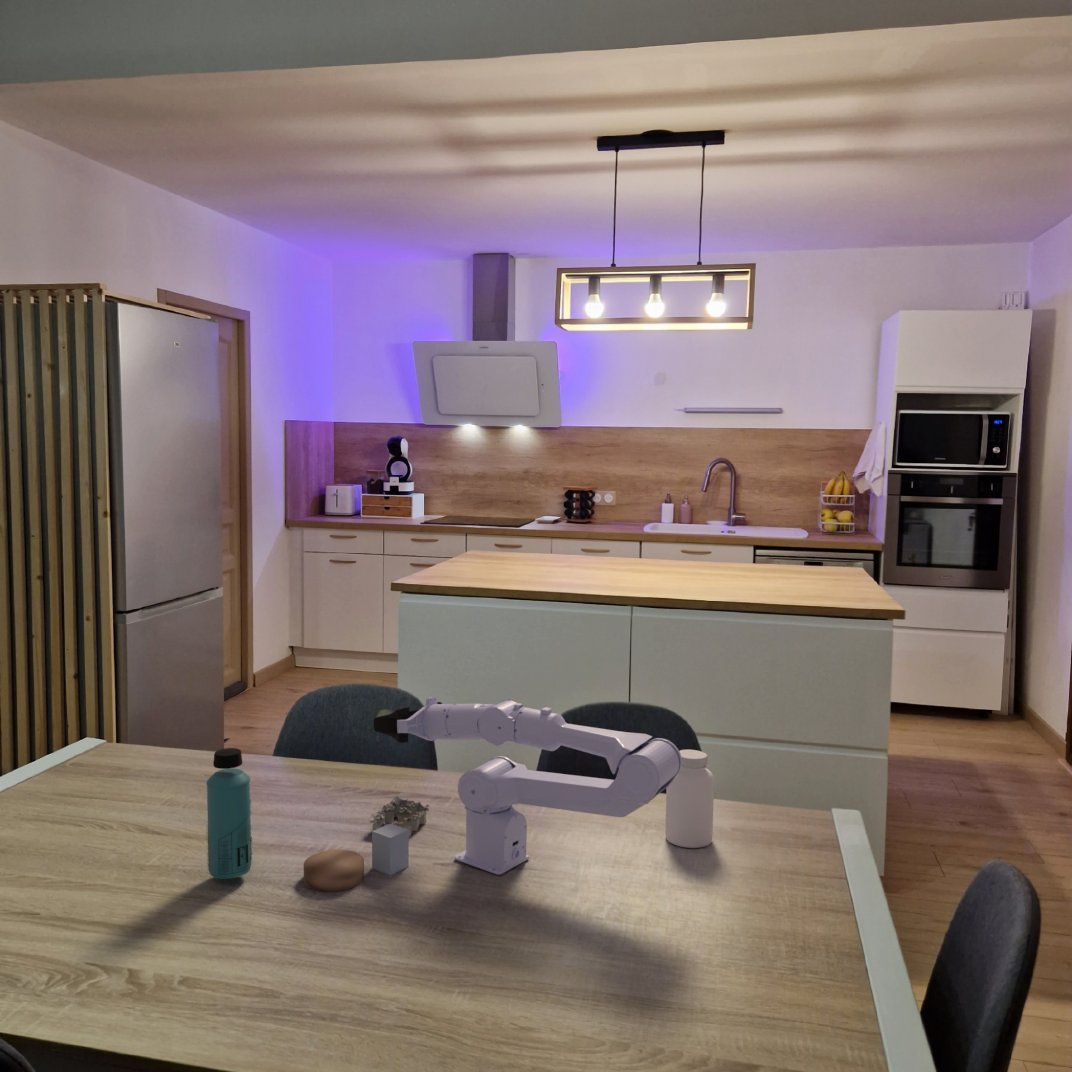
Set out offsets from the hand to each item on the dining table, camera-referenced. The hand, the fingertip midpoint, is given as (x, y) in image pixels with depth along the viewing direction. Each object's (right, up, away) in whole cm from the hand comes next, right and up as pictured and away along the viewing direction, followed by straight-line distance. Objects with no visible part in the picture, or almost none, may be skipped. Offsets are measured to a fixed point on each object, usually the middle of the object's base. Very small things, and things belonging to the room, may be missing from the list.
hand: (389, 721), depth 158 cm
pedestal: (-6, -21, -16) cm, 27 cm away
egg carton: (+1, -20, +4) cm, 20 cm away
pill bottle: (+51, -20, +1) cm, 55 cm away
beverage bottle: (-22, -21, -17) cm, 34 cm away
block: (+2, -21, -12) cm, 24 cm away
